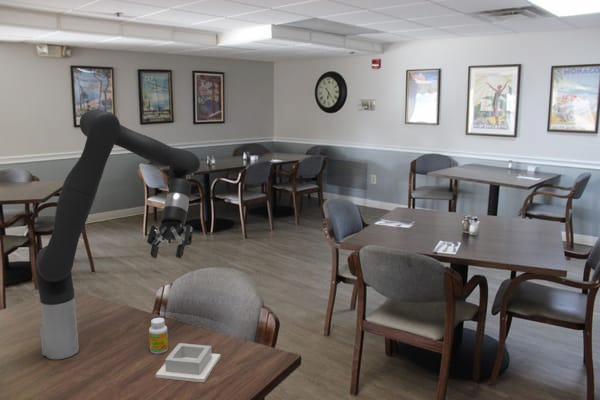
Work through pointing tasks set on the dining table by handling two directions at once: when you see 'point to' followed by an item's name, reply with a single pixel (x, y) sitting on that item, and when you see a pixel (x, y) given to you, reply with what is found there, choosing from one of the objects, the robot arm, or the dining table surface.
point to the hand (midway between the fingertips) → (165, 257)
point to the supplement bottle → (158, 336)
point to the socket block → (189, 363)
